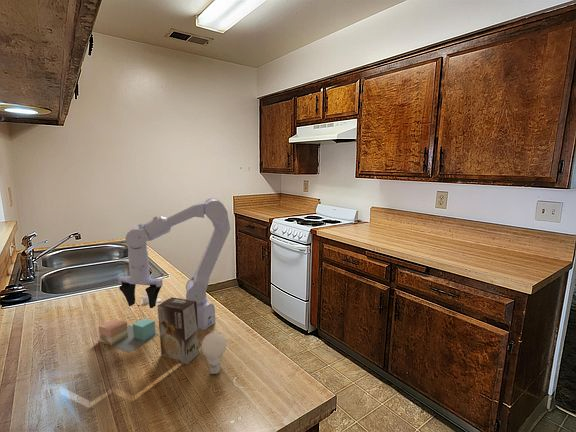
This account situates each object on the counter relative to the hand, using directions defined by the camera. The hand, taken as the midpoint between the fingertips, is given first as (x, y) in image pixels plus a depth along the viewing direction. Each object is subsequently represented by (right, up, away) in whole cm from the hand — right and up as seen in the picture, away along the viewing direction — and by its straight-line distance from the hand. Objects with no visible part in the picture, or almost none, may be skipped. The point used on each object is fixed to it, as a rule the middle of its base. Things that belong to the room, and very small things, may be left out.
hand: (142, 305), depth 103 cm
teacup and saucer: (-6, -7, +22) cm, 24 cm away
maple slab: (-7, -9, -4) cm, 12 cm away
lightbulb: (+28, -13, -19) cm, 36 cm away
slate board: (-3, -10, -3) cm, 11 cm away
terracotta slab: (-7, -7, -4) cm, 11 cm away
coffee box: (+16, -11, -11) cm, 23 cm away
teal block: (+2, -9, -2) cm, 9 cm away
